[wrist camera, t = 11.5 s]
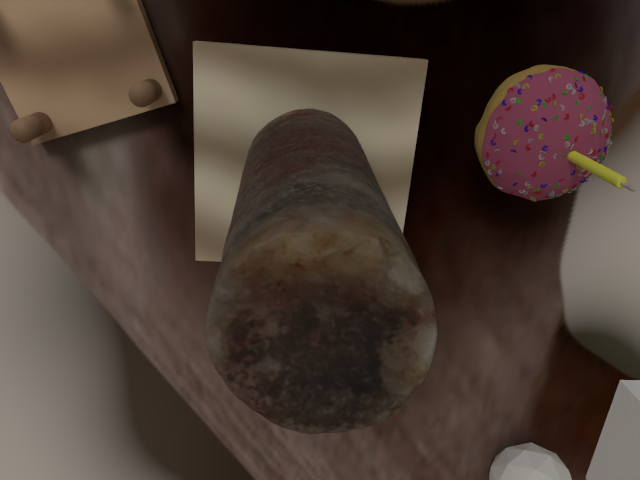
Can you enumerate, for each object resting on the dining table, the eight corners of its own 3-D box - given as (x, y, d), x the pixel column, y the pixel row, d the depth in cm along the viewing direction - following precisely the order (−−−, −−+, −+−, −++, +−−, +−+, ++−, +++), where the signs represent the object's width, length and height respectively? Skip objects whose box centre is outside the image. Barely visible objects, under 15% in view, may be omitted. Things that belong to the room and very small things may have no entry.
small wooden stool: (202, 39, 34) (192, 41, 31) (413, 55, 36) (428, 60, 32) (203, 238, 40) (195, 260, 36) (387, 246, 41) (397, 269, 37)
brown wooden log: (279, 238, 36) (278, 472, 17) (221, 143, 33) (146, 303, 15) (380, 185, 35) (492, 374, 16) (329, 83, 32) (395, 173, 14)
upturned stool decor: (-37, -15, 32) (-79, -20, 29) (117, -63, 32) (95, -75, 28) (40, 141, 36) (12, 155, 33) (178, 100, 36) (167, 109, 32)
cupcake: (597, 113, 38) (726, 151, 27) (512, 202, 40) (599, 272, 29) (516, 33, 36) (622, 39, 25) (431, 133, 38) (492, 180, 27)
